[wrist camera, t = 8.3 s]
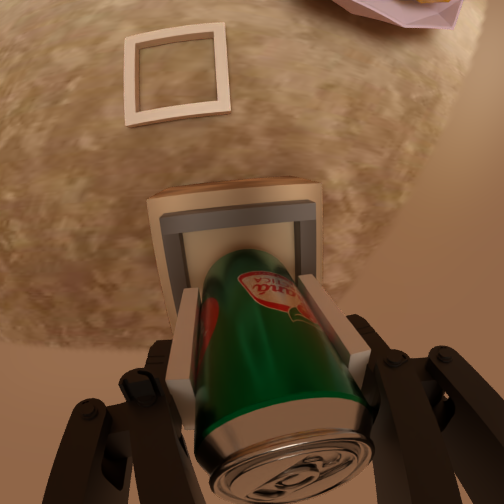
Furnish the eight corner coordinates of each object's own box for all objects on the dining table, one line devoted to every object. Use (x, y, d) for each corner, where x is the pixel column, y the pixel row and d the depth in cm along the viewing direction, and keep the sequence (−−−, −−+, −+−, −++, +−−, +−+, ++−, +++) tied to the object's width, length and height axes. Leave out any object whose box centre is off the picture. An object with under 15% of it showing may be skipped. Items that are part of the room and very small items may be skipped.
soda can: (305, 280, 17) (415, 442, 5) (250, 336, 18) (290, 514, 6) (241, 227, 15) (307, 400, 4) (185, 292, 16) (156, 490, 5)
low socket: (130, 127, 21) (125, 126, 20) (129, 43, 19) (125, 37, 17) (230, 113, 22) (230, 111, 21) (224, 28, 19) (224, 22, 18)
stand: (185, 299, 27) (174, 360, 18) (168, 187, 24) (140, 203, 15) (294, 287, 28) (326, 341, 19) (290, 175, 25) (331, 185, 16)
